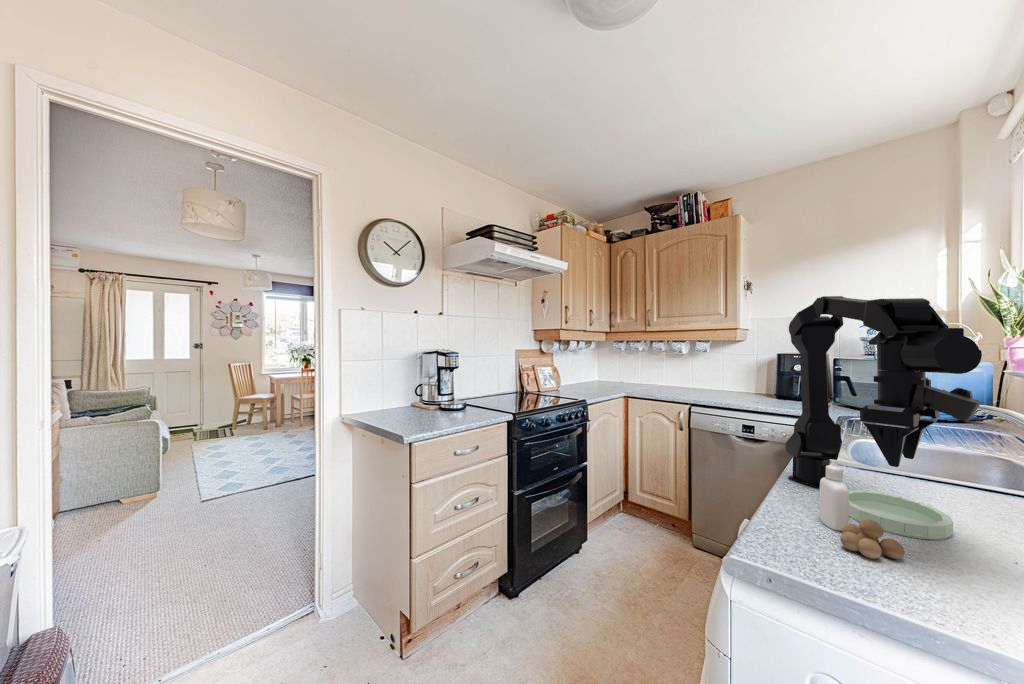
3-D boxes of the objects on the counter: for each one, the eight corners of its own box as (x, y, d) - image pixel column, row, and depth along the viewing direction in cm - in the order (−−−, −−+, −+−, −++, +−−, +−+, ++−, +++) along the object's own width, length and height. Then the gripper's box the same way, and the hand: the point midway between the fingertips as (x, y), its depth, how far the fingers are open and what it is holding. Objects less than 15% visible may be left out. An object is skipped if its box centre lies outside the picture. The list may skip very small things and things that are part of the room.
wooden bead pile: (825, 542, 63) (826, 513, 63) (847, 535, 66) (847, 507, 65) (887, 569, 56) (888, 537, 56) (908, 560, 58) (909, 528, 58)
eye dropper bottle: (850, 523, 70) (851, 459, 69) (847, 534, 66) (849, 466, 65) (820, 515, 73) (821, 454, 73) (815, 525, 69) (816, 460, 69)
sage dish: (822, 508, 75) (823, 497, 75) (863, 496, 81) (864, 485, 81) (927, 547, 62) (928, 533, 62) (968, 529, 68) (968, 516, 68)
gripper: (962, 374, 53) (965, 486, 52) (984, 372, 63) (986, 466, 62) (858, 370, 62) (859, 465, 62) (891, 369, 72) (892, 451, 72)
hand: (901, 462), depth 64 cm, fingers open, 9 cm apart
